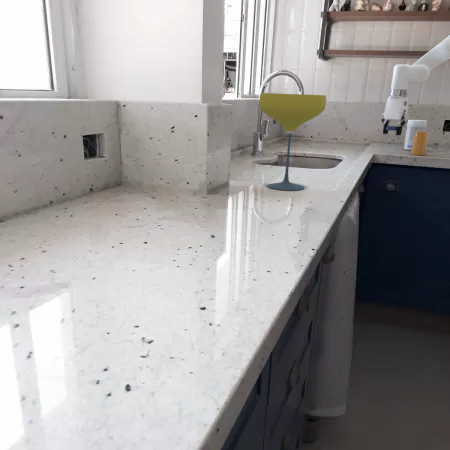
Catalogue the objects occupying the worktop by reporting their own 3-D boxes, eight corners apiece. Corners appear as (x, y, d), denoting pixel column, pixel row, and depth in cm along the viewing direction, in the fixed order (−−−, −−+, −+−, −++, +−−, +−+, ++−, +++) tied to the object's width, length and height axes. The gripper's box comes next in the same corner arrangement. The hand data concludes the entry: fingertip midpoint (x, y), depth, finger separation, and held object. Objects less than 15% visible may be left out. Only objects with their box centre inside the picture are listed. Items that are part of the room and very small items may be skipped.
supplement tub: (426, 151, 250) (432, 120, 245) (413, 151, 247) (418, 120, 241) (412, 148, 258) (417, 119, 253) (399, 149, 254) (404, 119, 249)
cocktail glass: (316, 195, 131) (327, 95, 121) (251, 190, 134) (256, 92, 124) (317, 184, 147) (326, 95, 138) (258, 180, 150) (263, 93, 140)
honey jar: (427, 154, 234) (431, 131, 229) (420, 155, 230) (425, 132, 225) (415, 153, 238) (419, 130, 234) (408, 154, 234) (412, 131, 230)
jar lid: (403, 130, 227) (403, 126, 226) (388, 130, 226) (389, 126, 226) (397, 130, 233) (398, 126, 233) (383, 129, 233) (384, 125, 232)
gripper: (419, 94, 219) (412, 136, 226) (388, 93, 232) (382, 132, 239) (409, 94, 215) (401, 136, 222) (378, 93, 228) (372, 133, 235)
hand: (391, 134), depth 230 cm, fingers closed on jar lid, 6 cm apart
